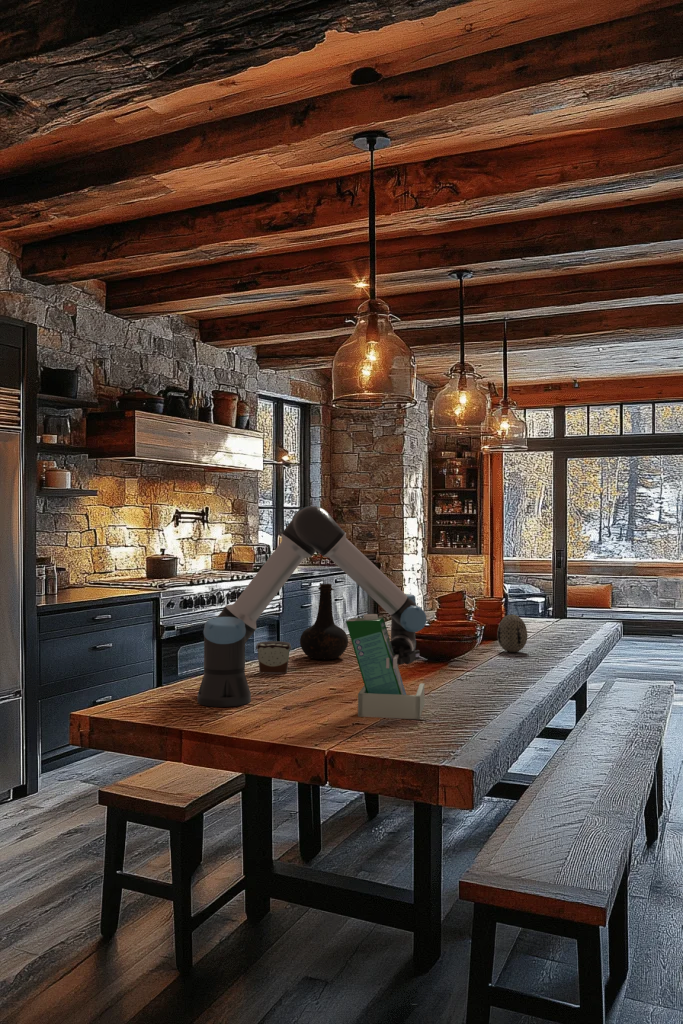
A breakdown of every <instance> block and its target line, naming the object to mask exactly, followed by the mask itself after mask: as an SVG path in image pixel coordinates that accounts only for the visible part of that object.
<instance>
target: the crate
mask: <svg viewBox="0 0 683 1024" xmlns="http://www.w3.org/2000/svg"><path fill="white" fill-rule="evenodd" d="M415 693H416V694H412V695H411V694H406V695H396V694H373V693H367V692H366V689H365V685H364V684H363V687H362V688H361V689H360V690H359V692H358V693H357V717H359V718H360V717H364V718H366V717H367V718H380V719H381V718H384V719H385V718H386V719H402V720H404V719H405V720H421V717H422V714H423V711H424V708H423V707H425V683H419V685H418V688H417V691H416V692H415Z"/></svg>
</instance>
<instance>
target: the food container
mask: <svg viewBox="0 0 683 1024" xmlns="http://www.w3.org/2000/svg"><path fill="white" fill-rule="evenodd" d="M255 650H257V658H258V659H257V660H258V667H259V668H258V669H259V673H260V672H264V673H263V674H282V673H287V674H288V669H289V658H290V651H292V646H291V643H290V642H287V641H280V640H279V641H278V640H277V641H276V640H269V641H268V640H267V641H260V642H257V643H256V645H255Z"/></svg>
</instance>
